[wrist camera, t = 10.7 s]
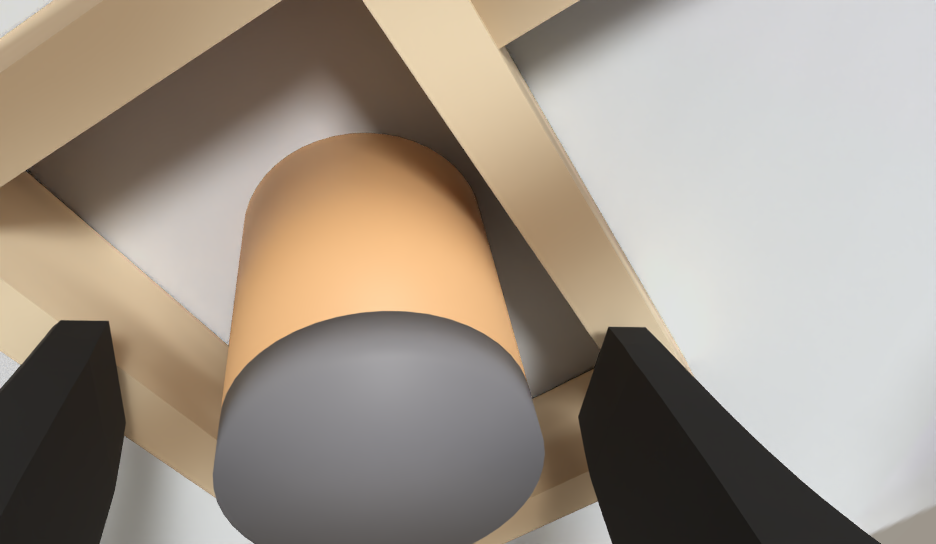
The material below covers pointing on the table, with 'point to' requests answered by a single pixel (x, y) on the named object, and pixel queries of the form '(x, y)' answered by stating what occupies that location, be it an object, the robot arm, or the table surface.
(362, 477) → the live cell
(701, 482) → the robot arm
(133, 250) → the table surface
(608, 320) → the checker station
